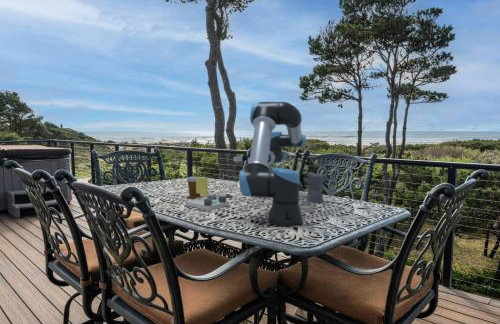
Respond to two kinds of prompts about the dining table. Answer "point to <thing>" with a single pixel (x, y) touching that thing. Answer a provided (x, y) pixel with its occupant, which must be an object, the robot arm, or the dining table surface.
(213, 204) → the base
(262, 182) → the robot arm
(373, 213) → the dining table surface
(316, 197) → the coffeepot
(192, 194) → the disposable coffee cup
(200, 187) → the yellow flat slab
